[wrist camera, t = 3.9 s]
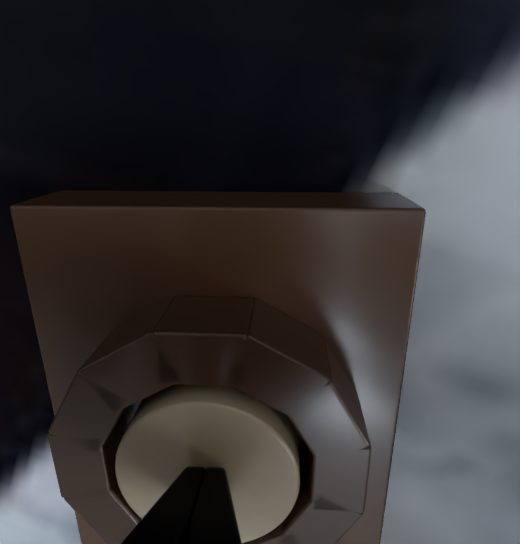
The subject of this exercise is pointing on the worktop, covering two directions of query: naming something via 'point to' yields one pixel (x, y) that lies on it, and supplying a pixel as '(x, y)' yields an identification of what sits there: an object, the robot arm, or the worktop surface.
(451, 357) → the worktop surface
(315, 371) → the switch block
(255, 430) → the button
